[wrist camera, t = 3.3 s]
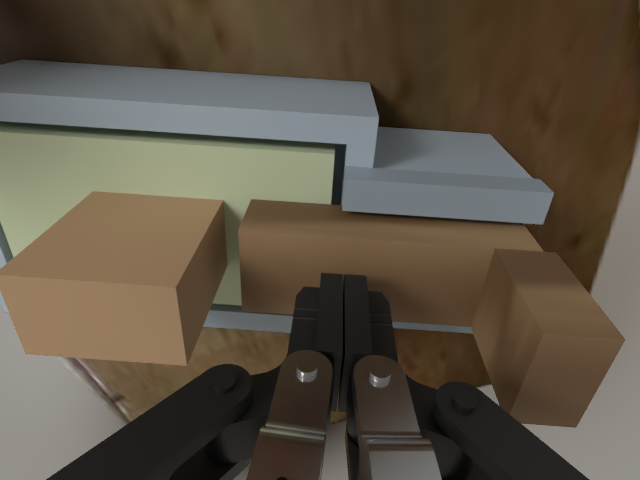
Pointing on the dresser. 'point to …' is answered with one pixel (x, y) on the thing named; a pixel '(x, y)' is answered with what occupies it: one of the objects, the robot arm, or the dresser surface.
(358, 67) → the dresser surface
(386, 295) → the wooden l-shaped block
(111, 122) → the blue-grey open box
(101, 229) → the lid
